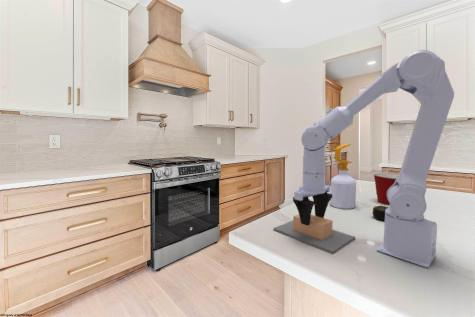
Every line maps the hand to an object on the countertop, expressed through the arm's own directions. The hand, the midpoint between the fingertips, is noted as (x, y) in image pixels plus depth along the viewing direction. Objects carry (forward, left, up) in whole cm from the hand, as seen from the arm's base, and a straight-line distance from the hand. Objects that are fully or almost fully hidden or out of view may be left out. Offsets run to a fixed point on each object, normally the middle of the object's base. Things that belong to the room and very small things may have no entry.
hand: (312, 221), depth 62 cm
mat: (0, 0, -4) cm, 4 cm away
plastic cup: (-3, -51, -4) cm, 51 cm away
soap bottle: (+7, -33, -4) cm, 34 cm away
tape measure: (-9, -29, -4) cm, 31 cm away
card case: (0, 0, -3) cm, 3 cm away
